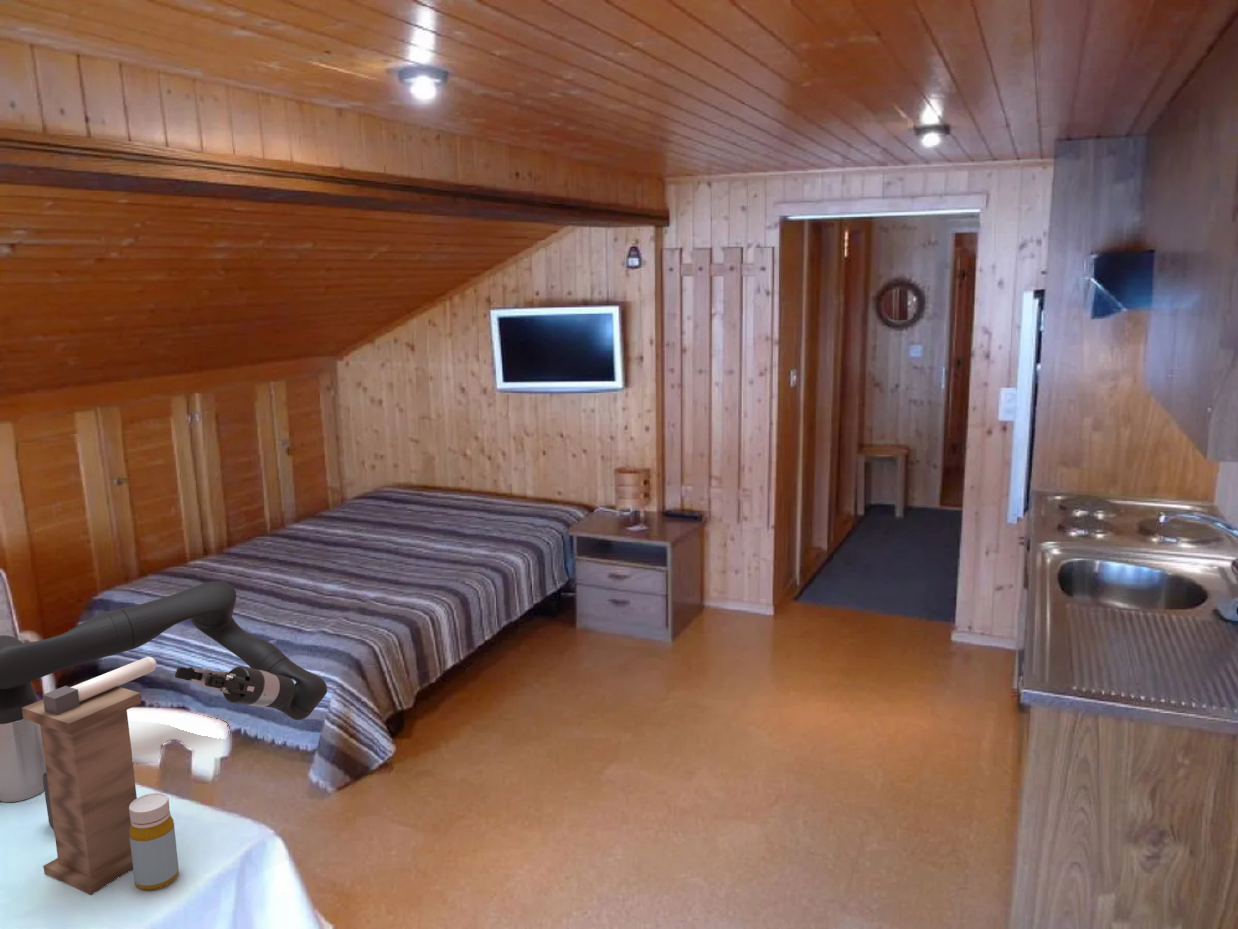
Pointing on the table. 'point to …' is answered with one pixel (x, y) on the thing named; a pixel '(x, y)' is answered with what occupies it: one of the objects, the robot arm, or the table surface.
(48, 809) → the battery charger
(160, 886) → the bottle
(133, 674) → the hammer
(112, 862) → the pedestal
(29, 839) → the table surface
